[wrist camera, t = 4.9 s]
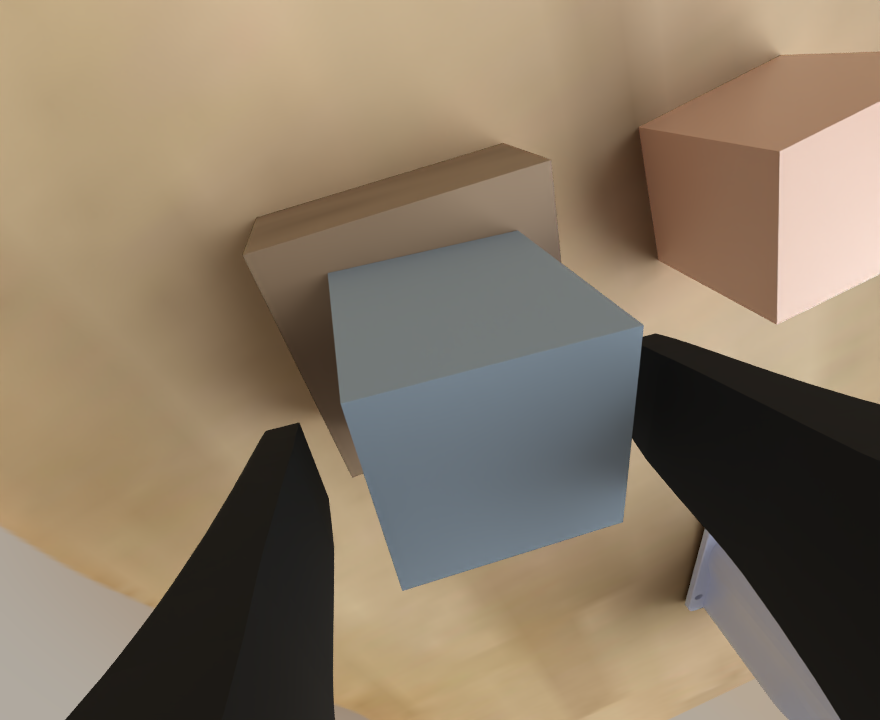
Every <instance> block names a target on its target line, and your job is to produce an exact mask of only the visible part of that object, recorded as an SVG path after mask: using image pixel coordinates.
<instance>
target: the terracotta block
mask: <svg viewBox="0 0 880 720" xmlns="http://www.w3.org/2000/svg"><path fill="white" fill-rule="evenodd" d="M639 134H640V140H641V147H642V154H643V160H644V167H645V174H646V180H647V187H648V194H649V200H650V207H651V214H652V220H653V227H654V233H655V240H656V247H657V253H658V260H659V261H661V262H663V263H665V264H666V265H668V266H670V267H672V268H674V269H676V270H677V271H679V272H681V273H683V274H685V275H687V276H689V277H690V278H692V279H694V280H696V281H698V282H700V283H701V284H703V285H705V286H707V287H709V288H711V289H712V290H714V291H716V292H718V293H720V294H722V295H723V296H725V297H727V298H729V299H731V300H733V301H734V302H736V303H738V304H740V305H742V306H744V307H746V308H747V309H749V310H751V311H753V312H755V313H757V314H758V315H760V316H762V317H764V318H766V319H768V320H769V321H771V322H773V323H775V324H779V323H781V322H783V321H785V320H787V319H789V318H791V317H793V316H795V315H798V314H800V313H802V312H804V311H806V310H808V309H810V308H812V307H814V306H816V305H818V304H820V303H822V302H824V301H826V300H828V299H830V298H832V297H834V296H836V295H838V294H840V293H842V292H844V291H846V290H849V289H851V288H853V287H855V286H857V285H859V284H861V283H863V282H865V281H867V280H869V279H871V278H873V277H875V276H877V275H879V274H880V52H859V53H829V54H798V55H780V56H778V57H776V58H774V59H772V60H770V61H768V62H766V63H764V64H762V65H760V66H758V67H756V68H754V69H752V70H750V71H748V72H746V73H744V74H742V75H740V76H739V77H737V78H735V79H733V80H731V81H729V82H727V83H725V84H723V85H721V86H719V87H717V88H715V89H713V90H711V91H709V92H707V93H705V94H703V95H701V96H699V97H697V98H695V99H693V100H691V101H689V102H687V103H685V104H683V105H681V106H679V107H677V108H675V109H673V110H671V111H669V112H667V113H665V114H664V115H662V116H660V117H658V118H656V119H654V120H652V121H650V122H648V123H646V124H644V125H642V126H640V127H639Z"/></svg>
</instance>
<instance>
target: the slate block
mask: <svg viewBox="0 0 880 720" xmlns="http://www.w3.org/2000/svg"><path fill="white" fill-rule="evenodd" d="M328 281H329V292H330V302H331V312H332V322H333V332H334V342H335V352H336V362H337V372H338V383H339V393H340V403H341V406H342V410H343V413H344V416H345V419H346V422H347V425H348V428H349V431H350V434H351V437H352V440H353V443H354V446H355V449H356V452H357V455H358V458H359V461H360V464H361V467H362V470H363V473H364V476H365V479H366V482H367V485H368V488H369V491H370V494H371V497H372V500H373V503H374V506H375V509H376V512H377V515H378V518H379V522H380V525H381V528H382V531H383V534H384V537H385V540H386V543H387V546H388V549H389V552H390V555H391V558H392V561H393V564H394V567H395V570H396V573H397V576H398V579H399V582H400V585H401V588H402V591H404V590H407V589H410V588H413V587H416V586H420V585H423V584H426V583H429V582H432V581H436V580H439V579H442V578H445V577H448V576H452V575H455V574H458V573H461V572H464V571H468V570H471V569H474V568H477V567H481V566H484V565H487V564H490V563H493V562H497V561H500V560H503V559H506V558H509V557H513V556H516V555H519V554H522V553H525V552H529V551H532V550H535V549H538V548H541V547H545V546H548V545H551V544H554V543H557V542H561V541H564V540H567V539H570V538H573V537H577V536H580V535H583V534H586V533H589V532H593V531H596V530H599V529H602V528H606V527H609V526H612V525H615V524H618V523H622V522H623V517H624V507H625V498H626V488H627V479H628V469H629V460H630V450H631V441H632V431H633V422H634V412H635V403H636V393H637V384H638V375H639V365H640V356H641V346H642V337H643V327H644V325H643V324H641V323H640V322H639V321H637V320H636V319H635V318H633V317H632V316H631V315H629V314H628V313H627V312H625V311H624V310H623V309H621V308H620V307H619V306H617V305H616V304H615V303H613V302H612V301H611V300H610V299H608V298H607V297H606V296H604V295H603V294H602V293H600V292H599V291H598V290H596V289H595V288H594V287H592V286H591V285H590V284H588V283H587V282H586V281H584V280H583V279H582V278H580V277H579V276H578V275H576V274H575V273H574V272H572V271H571V270H570V269H568V268H567V267H566V266H564V265H563V264H562V263H560V262H559V261H558V260H556V259H555V258H554V257H552V256H551V255H550V254H548V253H547V252H546V251H544V250H543V249H542V248H540V247H539V246H538V245H537V244H535V243H534V242H533V241H531V240H530V239H529V238H527V237H526V236H525V235H523V234H522V233H521V232H519V231H513V232H509V233H504V234H500V235H495V236H491V237H486V238H482V239H477V240H473V241H469V242H464V243H460V244H455V245H451V246H446V247H442V248H437V249H433V250H428V251H424V252H420V253H415V254H411V255H406V256H402V257H397V258H393V259H388V260H384V261H380V262H375V263H371V264H366V265H362V266H357V267H353V268H348V269H344V270H339V271H335V272H331V273H328Z"/></svg>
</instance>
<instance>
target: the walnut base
mask: <svg viewBox="0 0 880 720" xmlns="http://www.w3.org/2000/svg"><path fill="white" fill-rule="evenodd" d="M513 231H519V232H521V233H522V234H523V235H525V236H526V237H527V238H529V239H530V240H531V241H533V242H534V243H535V244H537V245H538V246H539V247H540V248H542V249H543V250H544V251H546V252H547V253H548V254H550V255H551V256H552V257H554V258H555V259H556V260H558V261H559V262H560V263H561V255H560V245H559V235H558V224H557V214H556V204H555V193H554V183H553V172H552V162H551V160H550V159H547V158H544V157H541V156H539V155H536V154H533V153H530V152H527V151H524V150H521V149H518V148H516V147H513V146H510V145H507V144H504V143H502V144H499V145H496V146H492V147H489V148H486V149H482V150H479V151H476V152H472V153H469V154H466V155H462V156H459V157H456V158H453V159H449V160H446V161H443V162H439V163H436V164H433V165H429V166H426V167H423V168H419V169H416V170H413V171H410V172H406V173H403V174H400V175H396V176H393V177H390V178H386V179H383V180H380V181H376V182H373V183H370V184H367V185H363V186H360V187H357V188H353V189H350V190H347V191H343V192H340V193H337V194H334V195H330V196H327V197H324V198H320V199H317V200H314V201H310V202H307V203H304V204H300V205H297V206H294V207H291V208H287V209H284V210H281V211H277V212H274V213H271V214H267V215H264V216H261V217H257V218H256V220H255V223H254V226H253V228H252V231H251V234H250V236H249V239H248V242H247V245H246V247H245V250H244V253H243V257H244V259H245V261H246V263H247V265H248V267H249V269H250V271H251V273H252V275H253V277H254V280H255V282H256V284H257V286H258V288H259V290H260V292H261V294H262V296H263V298H264V300H265V302H266V304H267V306H268V308H269V310H270V312H271V314H272V316H273V318H274V320H275V322H276V324H277V326H278V328H279V330H280V332H281V334H282V336H283V338H284V340H285V342H286V344H287V346H288V348H289V350H290V352H291V354H292V357H293V359H294V361H295V363H296V365H297V367H298V369H299V371H300V373H301V375H302V377H303V379H304V381H305V383H306V385H307V387H308V389H309V391H310V393H311V395H312V397H313V399H314V401H315V403H316V405H317V407H318V409H319V411H320V413H321V415H322V417H323V419H324V421H325V423H326V425H327V427H328V429H329V431H330V434H331V436H332V438H333V440H334V442H335V444H336V446H337V448H338V450H339V452H340V454H341V456H342V458H343V460H344V462H345V464H346V466H347V468H348V470H349V472H350V474H351V476H352V477H355V476H358V475H361V474H364V473H363V470H362V467H361V464H360V461H359V458H358V455H357V452H356V449H355V446H354V443H353V440H352V437H351V434H350V431H349V428H348V425H347V422H346V419H345V416H344V413H343V410H342V406H341V403H340V393H339V383H338V372H337V362H336V352H335V342H334V332H333V322H332V312H331V302H330V292H329V281H328V273H331V272H335V271H339V270H344V269H348V268H353V267H357V266H362V265H366V264H371V263H375V262H380V261H384V260H388V259H393V258H397V257H402V256H406V255H411V254H415V253H420V252H424V251H428V250H433V249H437V248H442V247H446V246H451V245H455V244H460V243H464V242H469V241H473V240H477V239H482V238H486V237H491V236H495V235H500V234H504V233H509V232H513Z"/></svg>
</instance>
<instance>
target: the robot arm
mask: <svg viewBox="0 0 880 720" xmlns="http://www.w3.org/2000/svg"><path fill="white" fill-rule="evenodd" d="M632 439H633V440H634V442H635V443H636V445H637V446H638V448H639V449H640V451H641V452H642V454H643V455H644V457H645V458H646V460H647V461H648V462H649V463H650V464H651V466H652V467H653V468H654V469H655V470H656V472H657V473H658V474H659V475H660V476H661V478H662V479H663V480H664V481H665V482H666V484H667V485H668V486H669V487H670V488H671V489H672V491H673V492H674V493H675V494H676V495H677V496H678V498H679V499H680V500H681V501H682V502H683V503H684V505H685V506H686V507H687V508H688V509H689V510H690V512H691V513H692V514H693V515H694V516H695V517H696V518H697V520H698V521H699V522H700V523H701V524H702V525H703V527H704V528H705V530H704V534H703V537H702V541H701V545H700V549H699V552H698V556H697V560H696V564H695V567H694V571H693V575H692V579H691V582H690V586H689V590H688V594H687V597H686V601H685V605H686V607H687V608H688V610H690V611H694V610H697V609H700V608H703V607H704V609H705V610H706V611H707V613H708V614H709V616H710V617H711V618H712V620H713V621H714V622H715V624H716V625H717V626H718V628H719V629H720V631H721V632H722V633H723V635H724V636H725V637H726V639H727V640H728V642H729V643H730V644H731V646H732V647H733V648H734V650H735V651H736V652H737V654H738V655H739V657H740V658H741V659H742V661H743V662H744V663H745V665H746V666H747V667H748V669H749V670H750V672H751V673H752V674H753V676H754V677H755V678H756V680H757V681H758V682H759V684H760V685H761V687H762V688H763V689H764V690H765V692H766V693H767V695H768V696H769V697H770V699H771V700H772V701H773V703H774V704H775V705H776V706H777V708H778V709H779V710H780V711H781V712H782V713H783V714H784V715H785V716H786V717H787V718H788V719H789V720H880V404H876V403H873V402H869V401H865V400H862V399H858V398H855V397H851V396H848V395H845V394H841V393H838V392H835V391H831V390H828V389H824V388H821V387H818V386H814V385H811V384H808V383H805V382H802V381H799V380H795V379H792V378H789V377H786V376H783V375H780V374H777V373H774V372H771V371H768V370H765V369H762V368H759V367H756V366H753V365H751V364H748V363H745V362H742V361H739V360H736V359H733V358H730V357H727V356H725V355H722V354H719V353H716V352H713V351H710V350H707V349H704V348H701V347H699V346H696V345H693V344H690V343H687V342H683V341H680V340H677V339H674V338H670V337H667V336H663V335H659V334H652V335H648V336H644V337H642V346H641V356H640V365H639V375H638V384H637V393H636V403H635V412H634V422H633V431H632ZM333 618H334V543H333V533H332V523H331V514H330V506H329V498H328V495H327V493H326V490H325V487H324V485H323V482H322V480H321V477H320V475H319V472H318V469H317V467H316V464H315V462H314V459H313V457H312V454H311V451H310V449H309V446H308V444H307V441H306V439H305V436H304V433H303V431H302V428H301V426H300V423H296V424H292V425H288V426H284V427H280V428H276V429H272V430H268V431H266V432H265V433H264V435H263V436H262V438H261V439H260V441H259V443H258V445H257V446H256V448H255V450H254V452H253V454H252V455H251V457H250V459H249V461H248V463H247V464H246V466H245V468H244V470H243V472H242V473H241V475H240V477H239V479H238V480H237V482H236V484H235V486H234V487H233V489H232V491H231V493H230V494H229V496H228V498H227V499H226V501H225V503H224V504H223V506H222V508H221V509H220V511H219V513H218V514H217V516H216V518H215V519H214V521H213V523H212V524H211V526H210V528H209V529H208V531H207V532H206V534H205V536H204V537H203V539H202V540H201V542H200V543H199V545H198V546H197V548H196V549H195V551H194V552H193V554H192V555H191V557H190V558H189V560H188V561H187V563H186V564H185V566H184V567H183V569H182V570H181V572H180V573H179V575H178V576H177V578H176V579H175V581H174V582H173V584H172V585H171V587H170V588H169V590H168V591H167V592H166V594H165V595H164V597H163V598H162V599H161V601H160V602H159V604H158V605H157V606H156V608H155V609H154V611H153V612H152V613H151V615H150V616H149V618H148V619H147V620H146V621H145V623H144V624H143V625H142V627H141V628H140V629H139V631H138V632H137V633H136V635H135V636H134V637H133V638H132V640H131V641H130V642H129V644H128V645H127V646H126V647H125V649H124V650H123V652H122V653H121V654H120V655H119V657H118V658H117V659H116V660H115V662H114V663H113V664H112V665H111V666H110V668H109V669H108V670H107V671H106V673H105V674H104V675H103V676H102V678H101V679H100V680H99V681H98V682H97V684H96V685H95V686H94V687H93V688H92V689H91V691H90V692H89V693H88V694H87V695H86V696H85V697H84V699H83V700H82V701H81V702H80V703H79V704H78V706H77V707H76V708H75V709H74V710H73V711H72V713H71V714H70V715H69V716H68V717H67V718H66V720H335V717H334V698H333Z"/></svg>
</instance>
